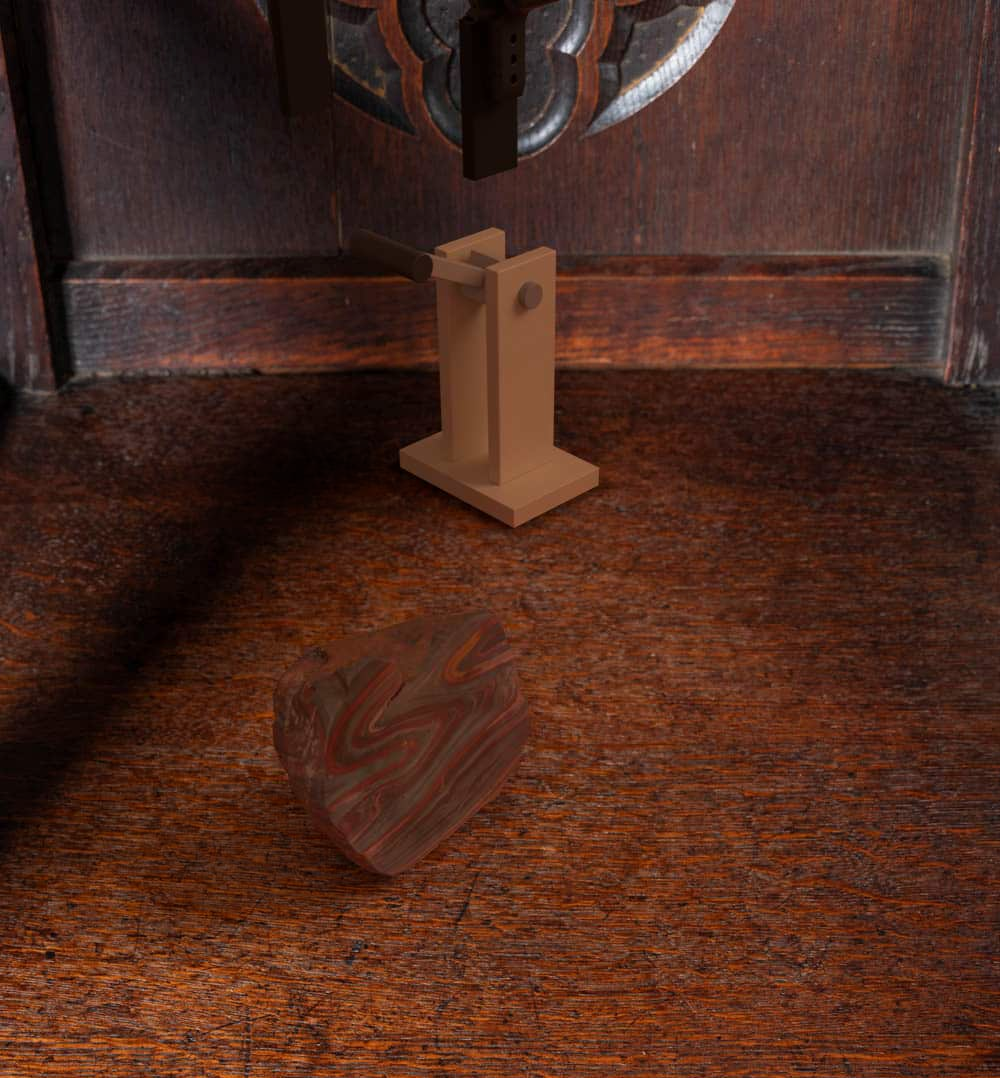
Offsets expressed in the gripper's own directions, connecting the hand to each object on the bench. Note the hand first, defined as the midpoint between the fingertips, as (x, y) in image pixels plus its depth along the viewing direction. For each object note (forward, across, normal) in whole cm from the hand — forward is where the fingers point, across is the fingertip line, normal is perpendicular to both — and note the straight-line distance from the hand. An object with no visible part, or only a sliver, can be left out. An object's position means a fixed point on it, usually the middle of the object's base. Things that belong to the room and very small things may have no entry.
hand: (393, 140), depth 69 cm
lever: (+9, 0, -3) cm, 9 cm away
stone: (+21, -18, +17) cm, 32 cm away
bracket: (+21, 0, -7) cm, 22 cm away
